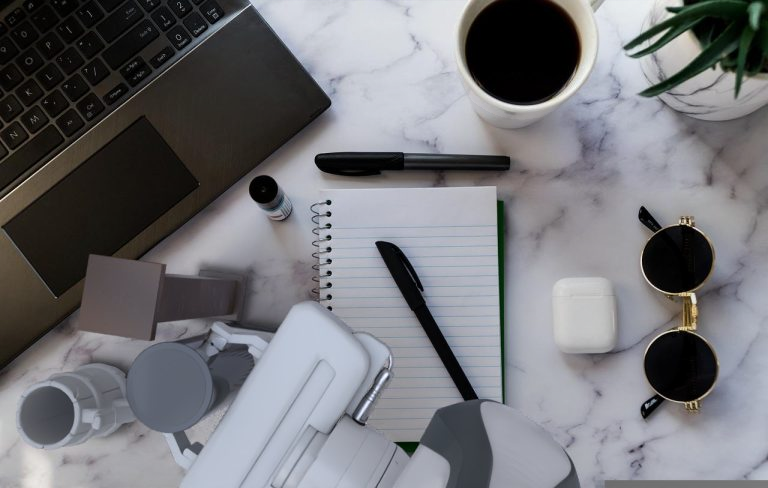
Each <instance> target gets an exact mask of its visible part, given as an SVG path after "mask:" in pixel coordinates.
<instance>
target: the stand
mask: <svg viewBox="0 0 768 488" xmlns="http://www.w3.org/2000/svg"><path fill="white" fill-rule="evenodd" d="M166 272H167V263H161V262H154V261H147V260H138V259H132V258H124V257H118V256H111V255H102V254H96V253H89V255H88V261H87V267H86V272H85V278H84V284H83V285H84V286H83V291H82V298H81V302H80V303H81V304H80V309H79V310H80V311H79V314H78V315H79V316H78V321H77V326H76V327H77V329H76V330H77V331H80V332H86V333H94V334H100V335H107V336H113V337H120V338H126V339H132V340H133V339H134V340H140V341H145V342H146V341H147V342H154V341H155V340H156V337H157V336H156V334H157V328H158V324H162V323H163V324H164V323H171V322H181V321H189V320H197V319H198V320H199V319H206V318H207V319H208V318H211V319H217V320H225V321H230V322H241V321H242V317H243V311H244V303H245V296H246V290H247V285H248V284H247V283H248V277H249V276H248V275H244V274H237V273H230V272H223V271H217V270H208V269H199V272H198V275H197V274H182V273H181V274H180V273H166Z"/></svg>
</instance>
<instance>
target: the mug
mask: <svg viewBox="0 0 768 488" xmlns="http://www.w3.org/2000/svg"><path fill="white" fill-rule="evenodd" d="M126 379H127V375H126V373H125V372H124V371H122V370H121V369H120V368H118V367H116V366H113V365H109V364H106V363H101V362H94V363H88V364H82V365H80V366H78V367H77V368H75V369H73V370H72V371H64V372H55V373H52V374H51V375H50V376H48V377H47V378H46V379H45V380H41V381H38V382H36V383H34V384H32V385H30V386H29V387H27V388H26V389H24V391H23V392H22V394H21V395H20V397H19V399H18V401H17V403H16V406H17V411H16V412H15V421H14V422H15V424H16V429H17V432H18V434H19V436H20V437H21V439H22V440H23V441H24V442H25V443H26V444H27V445H29V446H31V447H32V448H34V449H38V450H42V449H44V450H45V451H53V450H57V449H61V448H71V447H75V446H80V445H82V444H85V443H86V442H87V441H88V440H90V439H99V438H102V437H103V438H105V437H109V436H110V435H111V434H113V433H114V432H116V431H117V430H119V428H120V427H121V426H123V424H127V423H134V422H135V421H137V420H138V419H137V418H136V416H135V415H134V414H133V412H132V410H131V408H130V406H129V404H128V400H127V396H126Z"/></svg>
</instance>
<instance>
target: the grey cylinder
mask: <svg viewBox="0 0 768 488" xmlns="http://www.w3.org/2000/svg"><path fill="white" fill-rule="evenodd" d="M207 333H208V331H207V332H201V333H198V334H194V335H193V334H192V335H189V336H184V337H180V338H176V339H170V340H166V341H162V342H158V343H155V344H152V345H150V346H149V347H146V348H145V349H144V350H143V351H141V352H140V353H139V354H138V355H137V356H136V358H134V360H133V361H132V363H131V365H130V367H129V369H128V372H127V375H126V378H127V379H126V396H127V400H128V404H129V406H130V408H131V410H132V412H133V414H134V415H135V416H136V418H137V420H138V421H139V422H140V423H141V424H142V425H143V426H145V427H147V428H148V429H150V430H152V431H154V432H158V433H160V432H162V433H177V432H181V431H184V432H185V431H186V430H188V429H191V428H192V427H194V426H196V425H198V424H200V423H201V422H203V421H205V420H206V419H208V418H210V417H211V416H213V415H215V414H217V413H218V412H220V411H222V410H224V409H225V408H228V407H229V406H230V404H231V403H232V401H233V399H234V398H235V396H236V395H237V393H238V392H239V390H240V388H241V387H242V385H243V384H244V382H245V380H246V379H247V377H248V376H249V374H250V373H251V371H252V369H253V368H254V366H255V363H254V358H253V355H252V354H251V353H249V352H248V349H249V347H248V345H247V344H239V343H232V344H231V346H230V347H229V349H225V350H223V351H220V350H219V349H217V348H216V347H215V346H214V345H213V343H209V342H207V341H206V340H205V339H204V338H205V336H206V334H207Z"/></svg>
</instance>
